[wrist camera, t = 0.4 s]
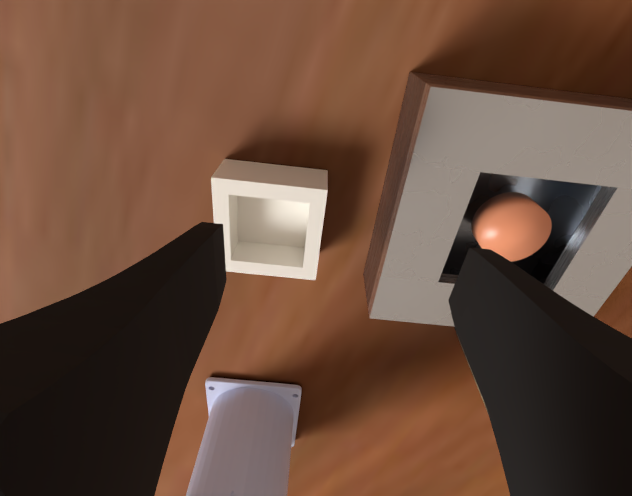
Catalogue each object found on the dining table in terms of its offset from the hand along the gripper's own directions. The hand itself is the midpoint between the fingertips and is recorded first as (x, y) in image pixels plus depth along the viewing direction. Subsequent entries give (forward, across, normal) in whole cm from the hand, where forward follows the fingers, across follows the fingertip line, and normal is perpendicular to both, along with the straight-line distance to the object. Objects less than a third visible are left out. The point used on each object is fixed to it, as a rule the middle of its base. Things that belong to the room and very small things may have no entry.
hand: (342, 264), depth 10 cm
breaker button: (+8, -9, +2) cm, 12 cm away
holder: (+10, +3, +4) cm, 11 cm away
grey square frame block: (+10, -9, +2) cm, 13 cm away
